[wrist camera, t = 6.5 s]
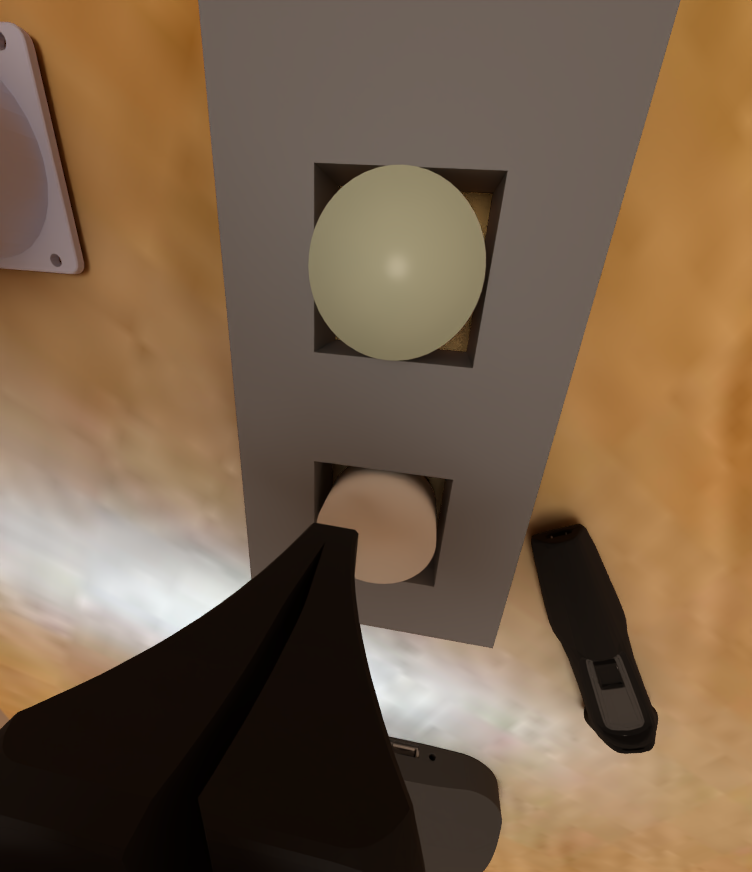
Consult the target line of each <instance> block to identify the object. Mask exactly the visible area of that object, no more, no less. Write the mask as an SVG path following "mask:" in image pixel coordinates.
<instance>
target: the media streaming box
mask: <svg viewBox="0 0 752 872" xmlns="http://www.w3.org/2000/svg"><path fill="white" fill-rule="evenodd" d="M389 739H390V742H391V745H392V748H393V751H394V754H395V757H396V760H397V763H398V765H399V768H400V771H401V774H402V777H403V779H404V782H405V785H406V787H407V790H408V793H409V795H410V798H411V801H412V804H413V807H414V813H415V819H416V824H417V829H418V833H419V838H420V843H421V848H422V854H423V859H424V864H425V871H426V872H483V871H484V870H485V869H486V867H487V866H488V864H489V863H490V861H491V859H492V857H493V854H494V852H495V849H496V846H497V842H498V839H499V834H500V830H501V824H502V818H501V809H500V801H499V793H498V784H497V780H496V777H495V776H494V774H493V773H492V772H491V770H490V769H489V768H487V767H486V766H485V765H484V764H482V763H481V762H479V761H478V760H476V759H474V758H471V757H469V756H467V755H464V754H460V753H456V752H452V751H448V750H444V749H440V748H436V747H431V746H427V745H423V744H418V743H414V742H409V741H405V740H400V739H395V738H390V737H389ZM404 742H405V743H404Z"/></svg>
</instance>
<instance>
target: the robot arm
mask: <svg viewBox="0 0 752 872" xmlns="http://www.w3.org/2000/svg"><path fill="white" fill-rule="evenodd" d="M5 40H6V48H5V45H4V41H5ZM59 257H60V259H61V262H62V264H60V262H59ZM0 268H3V269H16V270H28V271H40V272H52V273H64V274H80V273H81V272H82V271H83V269H84V261H83V256H82V252H81V248H80V243H79V239H78V234H77V230H76V226H75V221H74V217H73V213H72V208H71V204H70V200H69V195H68V191H67V187H66V182H65V178H64V174H63V169H62V165H61V161H60V156H59V152H58V148H57V143H56V139H55V135H54V130H53V126H52V122H51V117H50V113H49V109H48V104H47V100H46V95H45V91H44V87H43V82H42V78H41V74H40V69H39V65H38V61H37V56H36V52H35V48H34V44H33V42H32V39H31V37H30V36H29V34H28V33H27V32H26V31H25V30H23V29H22V28H20V27H19V26H17V25H15V24H14V23H10V22H0ZM358 535H359V534H358V532H357V531H356V530H354V529H349V528H343V527H337V526H332V525H326V524H320V523H315V522H314V523H313V524H311V525H310V526H309V527H308V528H307V529H306V530H305V531H304V532H303V533H302V534H301V535H300V536H299V537H298V538H297V539H296V540H295V541H294V542H293V543H292V544H291V545H290V546H289V547H288V548H287V549H286V550H285V551H284V552H283V553H281V554H280V555H279V556H278V557H277V558H276V559H275V560H274V561H273V562H271V563H270V564H269V565H268V566H267V567H266V568H265V569H264V570H262V571H261V572H260V573H259V574H258V575H256V576H255V577H254V578H253V579H251V580H250V581H249V582H248V583H246V584H245V585H244V586H243V587H241V588H240V589H239V590H238V591H236V592H235V593H234V594H232V595H231V596H230V597H228V598H227V599H226V600H224V601H223V602H222V603H220V604H219V605H218V606H216V607H215V608H213V609H212V610H210V611H209V612H207V613H206V614H204V615H203V616H202V617H200V618H199V619H197V620H195V621H194V622H192V623H191V624H189V625H188V626H186V627H184V628H183V629H181V630H180V631H178V632H176V633H175V634H173V635H172V636H170V637H168V638H167V639H165V640H163V641H162V642H160V643H158V644H156V645H155V646H153V647H151V648H149V649H148V650H146V651H144V652H142V653H140V654H138V655H136V656H135V657H133V658H131V659H129V660H127V661H125V662H123V663H122V664H120V665H118V666H116V667H114V668H112V669H110V670H108V671H106V672H105V673H103V674H101V675H99V676H96V677H94V678H92V679H90V680H88V681H86V682H84V683H82V684H80V685H78V686H75V687H73V688H71V689H69V690H67V691H64V692H62V693H60V694H58V695H56V696H54V697H51V698H49V699H47V700H45V701H43V702H40V703H38V704H36V705H34V706H32V707H29V708H27V709H25V710H22V711H20V712H18V713H17V714H15V715H14V716H13V717H12V718H11V719H10V720H9V721H8V722H7V723H6V724H5V725H4V726H3V727H2V728H1V729H0V872H426V871H425V864H424V859H423V854H422V848H421V843H420V838H419V833H418V829H417V824H416V819H415V813H414V807H413V804H412V801H411V798H410V795H409V793H408V790H407V787H406V785H405V782H404V779H403V777H402V774H401V771H400V768H399V765H398V763H397V760H396V757H395V754H394V751H393V748H392V745H391V742H390V739H389V736H388V733H387V730H386V727H385V724H384V721H383V717H382V714H381V710H380V707H379V703H378V700H377V696H376V693H375V689H374V686H373V682H372V679H371V675H370V670H369V666H368V662H367V658H366V653H365V649H364V644H363V639H362V633H361V628H360V622H359V615H358V608H357V600H356V590H355V566H356V556H357V546H358Z"/></svg>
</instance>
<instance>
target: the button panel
mask: <svg viewBox="0 0 752 872" xmlns="http://www.w3.org/2000/svg"><path fill="white" fill-rule="evenodd" d="M198 2H199V13H200V24H201V35H202V46H203V57H204V68H205V78H206V89H207V100H208V111H209V122H210V133H211V144H212V155H213V165H214V176H215V187H216V198H217V209H218V220H219V231H220V242H221V253H222V263H223V274H224V285H225V296H226V307H227V318H228V329H229V340H230V350H231V361H232V372H233V383H234V394H235V405H236V416H237V427H238V437H239V448H240V459H241V470H242V481H243V492H244V503H245V514H246V524H247V535H248V546H249V557H250V568H251V579H253V578H254V577H255V576H256V575H258V574H259V573H260V572H261V571H262V570H264V569H265V568H266V567H267V566H268V565H269V564H270V563H271V562H273V561H274V560H275V559H276V558H277V557H278V556H279V555H280V554H281V553H283V552H284V551H285V550H286V549H287V548H288V547H289V546H290V545H291V544H292V543H293V542H294V541H295V540H296V539H297V538H298V537H299V536H300V535H301V534H302V533H303V532H304V531H305V530H306V529H307V528H308V527H309V526H310V525H311V524H313V523H314V522H315V523H317V519H318V515H319V513H320V510H321V508H322V506H323V504H324V502H325V500H326V498H327V496H328V494H329V492H330V490H331V488H332V463H333V464H340V465H348V466H355V467H363V468H370V469H378V470H385V471H392V472H400V473H407V474H415V475H422V476H430V477H437V478H444V479H445V484H444V490H443V496H442V502H441V508H440V514H439V520H438V526H437V532H436V548H435V552H434V555H433V557H432V559H431V561H430V562H429V564H428V565H427V566H426V567H425V568H424V569H423V570H422V571H421V572H420V573H418V574H417V575H415V576H414V577H412V578H409V579H407V580H404V581H401V582H397V583H390V584H376V583H369V582H365V581H362V580H358V579H356V578H355V590H356V600H357V608H358V615H359V622H360V624H363V625H369V626H374V627H380V628H385V629H390V630H396V631H401V632H407V633H412V634H418V635H423V636H429V637H434V638H440V639H445V640H451V641H456V642H462V643H467V644H473V645H478V646H483V647H489V648H493V646H494V642H495V639H496V635H497V632H498V628H499V625H500V621H501V618H502V614H503V611H504V608H505V604H506V601H507V597H508V594H509V590H510V587H511V583H512V580H513V576H514V573H515V570H516V566H517V563H518V559H519V556H520V552H521V549H522V545H523V542H524V538H525V535H526V532H527V528H528V525H529V521H530V518H531V514H532V511H533V507H534V504H535V500H536V497H537V494H538V490H539V487H540V483H541V480H542V476H543V473H544V469H545V466H546V463H547V459H548V456H549V452H550V449H551V445H552V442H553V438H554V435H555V431H556V428H557V425H558V421H559V418H560V414H561V411H562V407H563V404H564V400H565V397H566V393H567V390H568V387H569V383H570V380H571V376H572V373H573V369H574V366H575V362H576V359H577V355H578V352H579V349H580V345H581V342H582V338H583V335H584V331H585V328H586V324H587V321H588V317H589V314H590V311H591V307H592V304H593V300H594V297H595V293H596V290H597V286H598V283H599V279H600V276H601V273H602V269H603V266H604V262H605V259H606V255H607V252H608V248H609V245H610V241H611V238H612V235H613V231H614V228H615V224H616V221H617V217H618V214H619V210H620V207H621V203H622V200H623V197H624V193H625V190H626V186H627V183H628V179H629V176H630V172H631V169H632V165H633V162H634V159H635V155H636V152H637V148H638V145H639V141H640V138H641V134H642V131H643V127H644V124H645V121H646V117H647V114H648V110H649V107H650V103H651V100H652V96H653V93H654V89H655V86H656V83H657V79H658V76H659V72H660V69H661V65H662V62H663V58H664V55H665V52H666V48H667V45H668V41H669V38H670V34H671V31H672V27H673V24H674V20H675V17H676V14H677V10H678V7H679V3H680V0H198ZM388 165H410V166H417V167H420V168H424V169H427V170H429V171H432V172H434V173H436V174H438V175H440V176H441V177H443V178H444V179H446V180H447V181H449V182H450V183H451V184H452V185H453V186H455V187H456V188H457V189H458V190H459V191H462V192H483V193H493V196H492V202H491V208H490V214H489V220H488V226H487V232H486V238H485V251H486V269H485V278H484V283H483V287H482V291H481V294H480V297H479V299H478V302H477V304H476V306H475V308H474V310H473V316H472V322H471V328H470V334H469V340H468V346H467V352H461V351H450V350H440V349H436V350H434V351H432V352H431V353H429V354H426V355H423V356H421V357H417V358H413V359H409V360H400V361H392V360H382V359H376V358H373V357H370V356H366V355H364V354H362V353H360V352H358V351H356V350H354V349H353V348H351V347H349V346H348V345H347V344H345V343H344V342H343V341H342V340H335V334H334V333H333V332H332V330H331V329H330V328H329V326H328V325H327V324H326V322H325V321H324V319H323V317H322V316H321V314H320V312H319V310H318V308H317V306H316V303H315V301H314V297H313V294H312V291H311V286H310V280H309V269H308V262H309V250H310V244H311V239H312V236H313V232H314V229H315V226H316V224H317V222H318V220H319V217H320V215H321V214H322V212H323V210H324V208H325V207H326V205H327V204H328V203H329V201H330V200H331V199H332V197H333V196H334V195H335V194H336V193H337V192H338V191H339V186H344V185H345V184H347V183H348V182H349V181H351V180H352V179H353V178H355V177H357V176H359V175H361V174H362V173H364V172H366V171H369V170H372V169H375V168H378V167H383V166H388Z"/></svg>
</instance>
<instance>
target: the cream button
mask: <svg viewBox="0 0 752 872" xmlns="http://www.w3.org/2000/svg"><path fill="white" fill-rule="evenodd" d="M317 523H320V524H326V525H332V526H337V527H343V528H349V529H354V530H356V531H357V532H358V534H359V535H358V546H357V556H356V566H355V578H356V579H358V580H362V581H365V582H369V583H376V584H390V583H397V582H401V581H404V580H407V579H409V578H412V577H414V576H415V575H417V574H418V573H420V572H421V571H422V570H423V569H424V568H425V567H426V566H427V565H428V564H429V562H430V561H431V559H432V557H433V555H434V552H435V548H436V498H435V494H434V492H433V489H432V487H431V485H430V484H429V482H428V481H427V479H426V478H425V477H424V476H422V475H415V474H407V473H400V472H392V471H385V470H378V469H370V468H363V467H355V466H348V467H347V468H345V469H344V470H343V471H342V472H341V473H340V474H339V476H338V477H337V479H336V480H335V482H334V484H333V486H332V488H331V490H330V492H329V494H328V496H327V498H326V500H325V502H324V504H323V506H322V508H321V510H320V513H319V515H318V519H317Z"/></svg>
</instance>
